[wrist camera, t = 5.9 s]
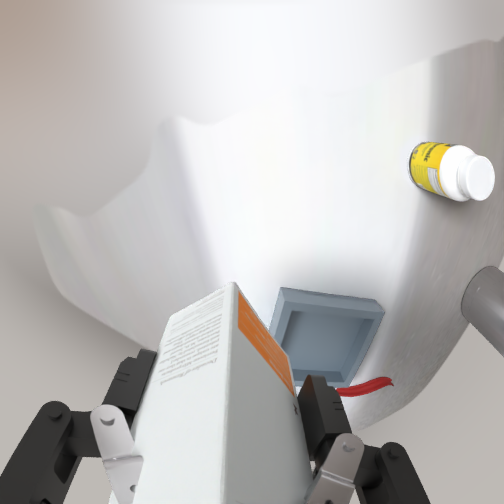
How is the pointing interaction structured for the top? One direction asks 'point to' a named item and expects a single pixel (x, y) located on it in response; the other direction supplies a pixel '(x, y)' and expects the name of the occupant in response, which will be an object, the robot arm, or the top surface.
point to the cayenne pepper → (365, 387)
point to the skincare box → (220, 412)
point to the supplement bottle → (450, 171)
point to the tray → (324, 333)
